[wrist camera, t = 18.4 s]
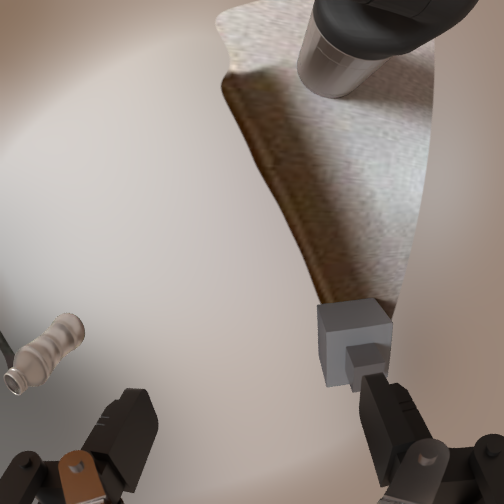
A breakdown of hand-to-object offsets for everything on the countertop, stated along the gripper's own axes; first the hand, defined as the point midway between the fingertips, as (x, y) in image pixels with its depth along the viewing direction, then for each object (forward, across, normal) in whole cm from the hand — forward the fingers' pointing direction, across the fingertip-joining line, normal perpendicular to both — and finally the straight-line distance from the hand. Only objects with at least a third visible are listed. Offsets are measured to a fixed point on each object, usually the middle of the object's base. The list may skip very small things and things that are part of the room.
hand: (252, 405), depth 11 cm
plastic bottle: (+36, +36, +14) cm, 53 cm away
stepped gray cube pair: (+36, -11, +18) cm, 41 cm away
